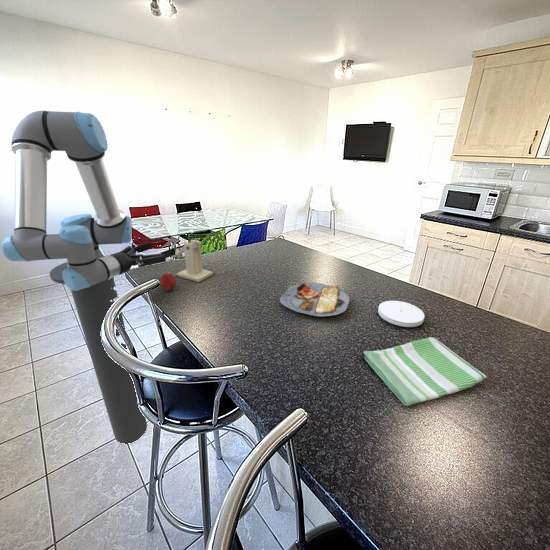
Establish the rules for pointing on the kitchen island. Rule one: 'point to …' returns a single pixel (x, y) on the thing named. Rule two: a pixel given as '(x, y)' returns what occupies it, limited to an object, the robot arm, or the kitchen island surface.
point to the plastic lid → (401, 313)
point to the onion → (168, 281)
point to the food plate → (315, 299)
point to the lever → (178, 253)
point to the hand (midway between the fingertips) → (162, 248)
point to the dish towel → (422, 370)
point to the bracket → (194, 263)
